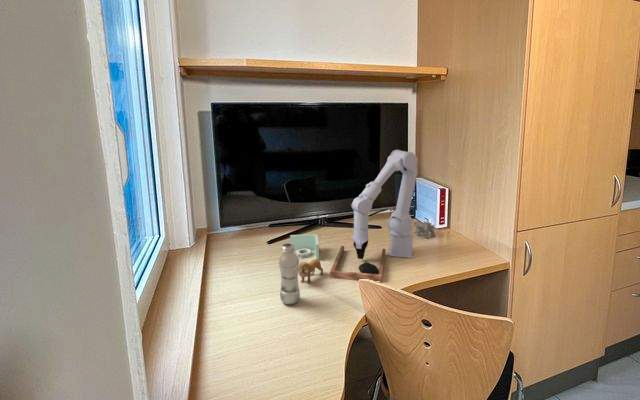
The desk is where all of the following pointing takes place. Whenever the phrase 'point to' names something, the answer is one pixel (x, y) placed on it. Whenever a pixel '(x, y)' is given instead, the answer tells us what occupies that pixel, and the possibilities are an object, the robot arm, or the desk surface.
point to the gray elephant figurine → (424, 228)
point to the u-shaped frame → (353, 274)
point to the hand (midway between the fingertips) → (360, 258)
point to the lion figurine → (309, 269)
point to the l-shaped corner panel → (305, 245)
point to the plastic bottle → (289, 275)
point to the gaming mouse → (368, 268)
